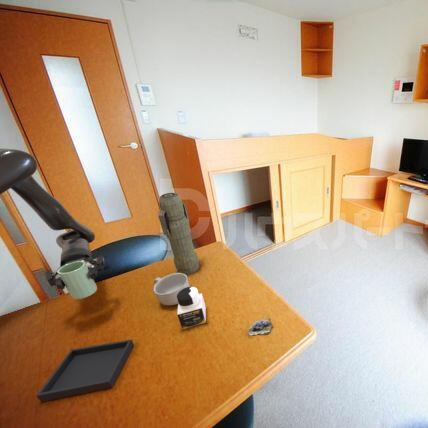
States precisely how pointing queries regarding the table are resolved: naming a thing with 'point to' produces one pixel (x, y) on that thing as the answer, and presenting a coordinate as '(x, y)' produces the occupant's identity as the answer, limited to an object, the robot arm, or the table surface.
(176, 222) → the thermos
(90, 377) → the tray
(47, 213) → the robot arm
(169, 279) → the teacup
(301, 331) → the table surface
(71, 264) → the celadon cup
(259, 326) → the blueberries
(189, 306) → the medicine bottle
